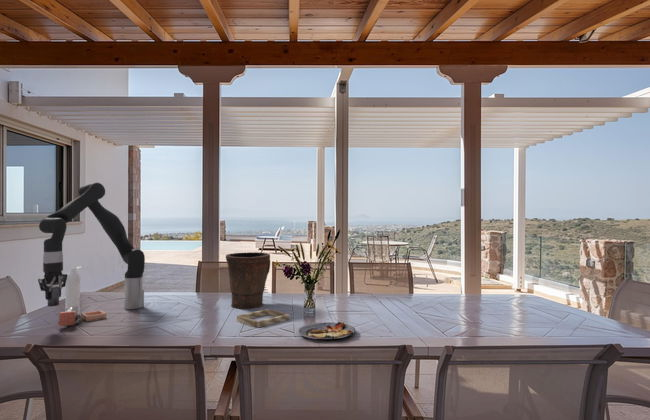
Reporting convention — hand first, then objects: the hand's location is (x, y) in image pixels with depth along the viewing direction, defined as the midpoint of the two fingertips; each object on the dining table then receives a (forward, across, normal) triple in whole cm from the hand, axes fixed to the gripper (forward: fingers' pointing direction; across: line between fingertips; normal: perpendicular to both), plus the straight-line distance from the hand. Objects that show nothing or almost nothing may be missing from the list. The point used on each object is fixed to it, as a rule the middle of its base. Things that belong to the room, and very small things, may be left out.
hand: (53, 298), depth 178 cm
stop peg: (+3, 0, 0) cm, 3 cm away
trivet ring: (+15, -31, +90) cm, 96 cm away
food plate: (+16, -14, +125) cm, 127 cm away
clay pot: (+16, -63, +71) cm, 96 cm away
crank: (+13, -8, +2) cm, 15 cm away
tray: (+14, -20, +4) cm, 25 cm away
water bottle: (+14, -24, -11) cm, 30 cm away
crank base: (+14, -11, 0) cm, 18 cm away
